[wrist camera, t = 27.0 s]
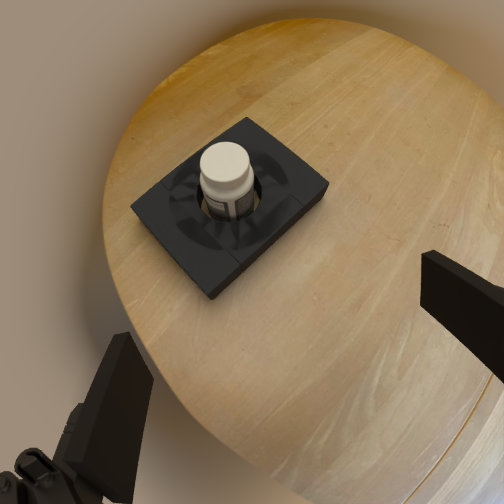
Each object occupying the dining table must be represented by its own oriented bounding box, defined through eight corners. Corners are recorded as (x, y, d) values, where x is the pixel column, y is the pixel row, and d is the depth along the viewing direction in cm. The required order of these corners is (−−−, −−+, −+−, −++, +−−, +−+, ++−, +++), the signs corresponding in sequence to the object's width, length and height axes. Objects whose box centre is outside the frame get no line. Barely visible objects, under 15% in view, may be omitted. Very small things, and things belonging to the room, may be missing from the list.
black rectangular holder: (211, 300, 28) (207, 295, 25) (139, 217, 31) (129, 205, 28) (323, 196, 32) (329, 182, 29) (246, 132, 34) (246, 116, 31)
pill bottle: (251, 184, 32) (252, 135, 24) (255, 225, 31) (257, 183, 23) (207, 188, 32) (195, 140, 24) (208, 229, 31) (195, 188, 22)
